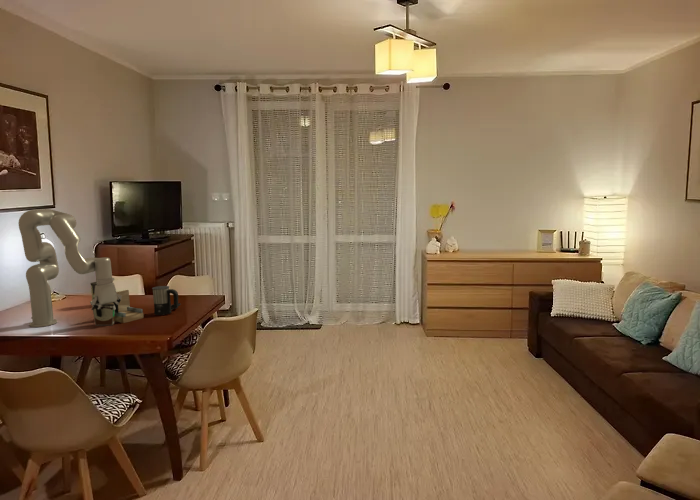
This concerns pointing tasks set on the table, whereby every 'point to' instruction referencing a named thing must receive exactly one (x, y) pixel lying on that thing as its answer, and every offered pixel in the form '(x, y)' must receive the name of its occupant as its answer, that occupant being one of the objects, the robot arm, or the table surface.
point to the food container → (105, 315)
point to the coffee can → (93, 289)
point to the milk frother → (164, 300)
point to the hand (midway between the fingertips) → (107, 314)
